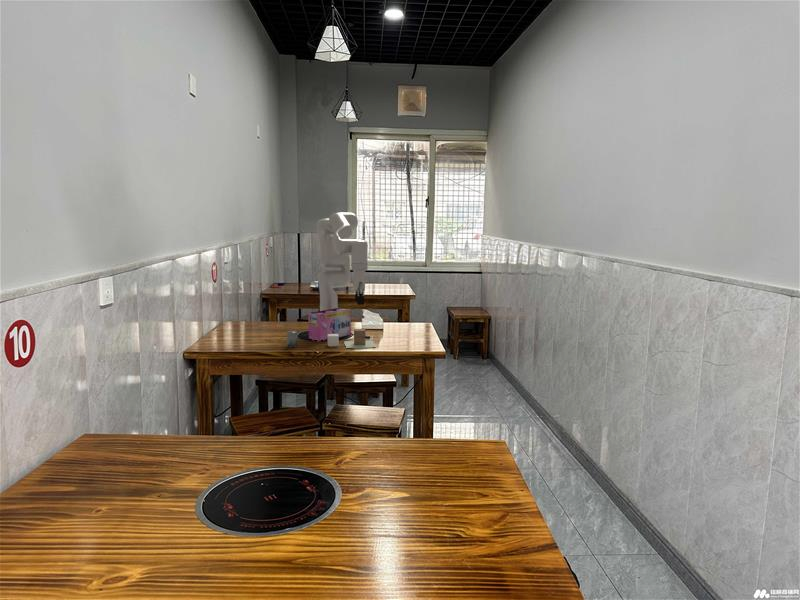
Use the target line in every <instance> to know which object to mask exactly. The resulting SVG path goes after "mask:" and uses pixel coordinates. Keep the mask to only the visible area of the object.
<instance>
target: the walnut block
mask: <svg viewBox="0 0 800 600" xmlns="http://www.w3.org/2000/svg"><path fill="white" fill-rule="evenodd" d="M353 341H354V344H355V345H365V341H366V329H365V327H364V328H353Z"/></svg>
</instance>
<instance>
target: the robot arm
mask: <svg viewBox="0 0 800 600" xmlns="http://www.w3.org/2000/svg"><path fill="white" fill-rule="evenodd" d="M358 225H359V220H358V217H357V215H356V214H355V213H353V212H334V213H332V214H331V215H330V216H329V218H328V217H327V218H321V219H319V220H318V221H317V223H316V232H317V236H318V239H319V246H320V247H319V249H320V254H319V256H320V265H321V267H323V268H325V269H327V270H323V271H320V272H319V273H318V275H317V281H318V287H319V311H323V310H329V309H334V308H339V306H338V303H339V302H338V300H339V299H338V298H339V297H338V294H337V293H336V291H335V290H334V289H336V288H346V287H349V286H350V284H351V271H353V273H352V290H353V291H354V292H355V293H354V301H355V302H356V303H357V304H356V305H358V306H364V305H365V293H364V292H365V290H366V271H368V267H369V266H368V245H369V244H368V242H367V240H362V239H358V238H357V239H355V238H354V239H353V238H352V239H351V236H352V235H353V232H354V231H355V230H356V229H357V227H358ZM350 256H351V259H350ZM337 268H338V270H337ZM328 269H332V270H328ZM334 269H335V270H334Z"/></svg>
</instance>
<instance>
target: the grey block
mask: <svg viewBox="0 0 800 600" xmlns="http://www.w3.org/2000/svg"><path fill="white" fill-rule="evenodd" d="M339 339H340V337H339V335H338V334H327V340H326V341H327V347H328V346H329V347H339V346H340V345H339V343H340V341H339ZM331 345H332V346H331ZM333 345H334V346H333Z"/></svg>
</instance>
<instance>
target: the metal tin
mask: <svg viewBox="0 0 800 600" xmlns="http://www.w3.org/2000/svg"><path fill="white" fill-rule="evenodd" d="M298 333H299V331H297V330H287V331H286V347H287V346H288V347H287V348H289V347H295V346H298V347H299V339H298V338H299V335H298ZM295 348H296V347H295Z"/></svg>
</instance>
